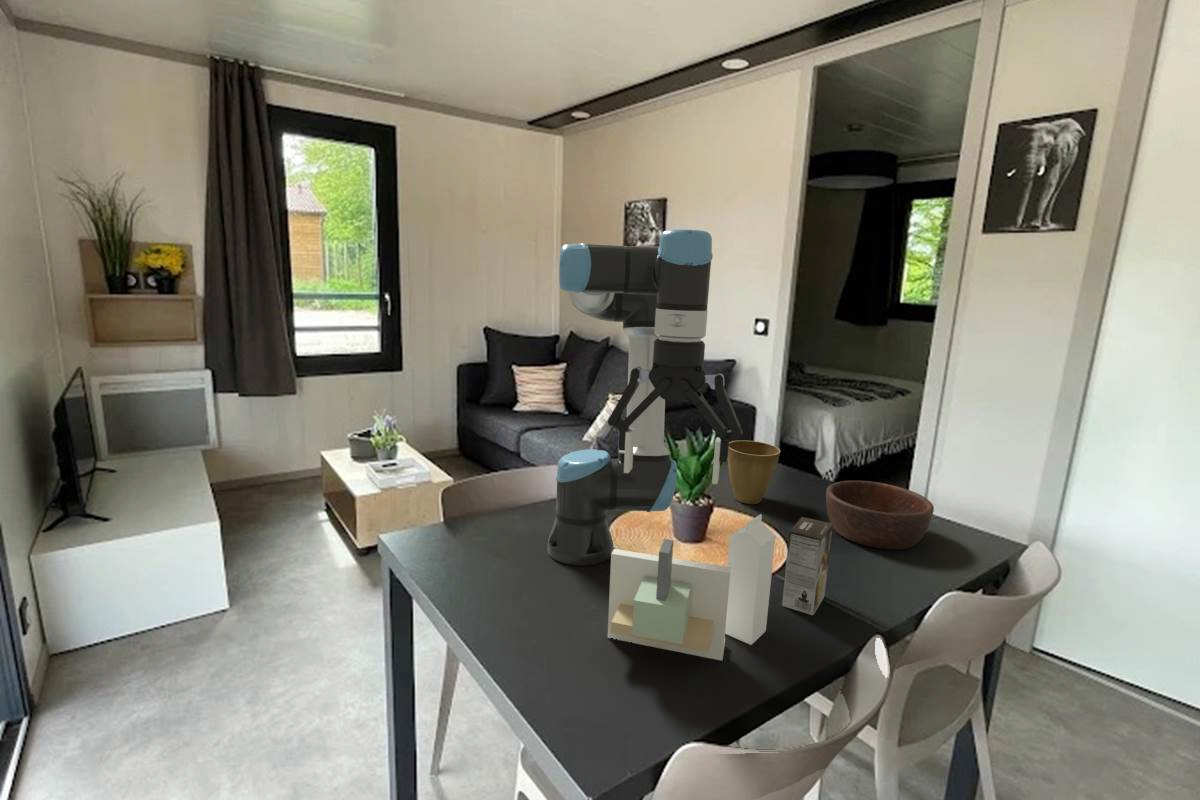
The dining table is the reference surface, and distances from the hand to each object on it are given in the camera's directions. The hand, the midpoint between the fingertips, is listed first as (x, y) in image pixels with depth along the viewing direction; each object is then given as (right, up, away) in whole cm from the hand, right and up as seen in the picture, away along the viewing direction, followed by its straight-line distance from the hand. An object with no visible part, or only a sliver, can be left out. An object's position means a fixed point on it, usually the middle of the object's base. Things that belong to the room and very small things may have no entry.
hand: (670, 476), depth 94 cm
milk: (+15, -31, +17) cm, 38 cm away
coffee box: (+30, -29, +28) cm, 50 cm away
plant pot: (+33, -18, +83) cm, 91 cm away
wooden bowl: (+60, -23, +63) cm, 90 cm away
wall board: (0, -31, +10) cm, 33 cm away
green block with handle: (-1, -25, +5) cm, 26 cm away
